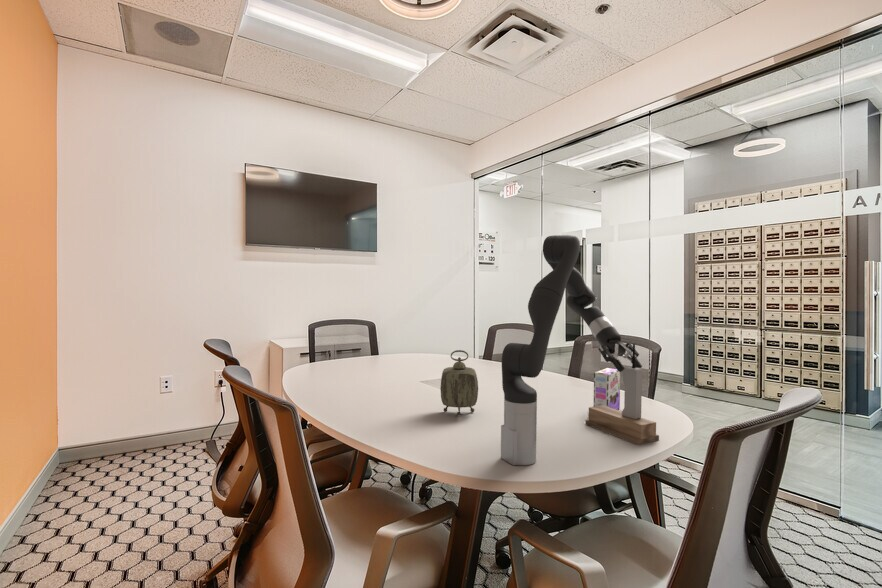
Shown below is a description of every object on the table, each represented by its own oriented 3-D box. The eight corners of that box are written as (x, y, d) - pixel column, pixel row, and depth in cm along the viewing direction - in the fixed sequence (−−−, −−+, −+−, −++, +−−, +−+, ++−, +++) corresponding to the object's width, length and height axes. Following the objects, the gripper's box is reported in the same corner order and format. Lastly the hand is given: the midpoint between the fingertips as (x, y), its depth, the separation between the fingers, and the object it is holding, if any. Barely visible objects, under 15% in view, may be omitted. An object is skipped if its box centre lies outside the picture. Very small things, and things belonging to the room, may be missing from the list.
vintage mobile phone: (626, 414, 144) (627, 342, 144) (641, 417, 140) (642, 343, 140) (621, 416, 142) (622, 342, 141) (635, 419, 138) (636, 344, 137)
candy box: (607, 416, 162) (608, 373, 162) (592, 412, 166) (593, 371, 166) (620, 408, 172) (620, 369, 172) (606, 406, 176) (606, 367, 176)
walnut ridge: (638, 444, 132) (638, 425, 132) (585, 424, 151) (585, 407, 151) (658, 439, 136) (659, 421, 136) (605, 420, 156) (605, 404, 156)
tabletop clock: (476, 411, 166) (477, 348, 166) (478, 418, 157) (478, 352, 157) (440, 410, 167) (441, 348, 167) (440, 417, 158) (440, 351, 158)
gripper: (595, 326, 144) (623, 364, 134) (624, 324, 151) (652, 361, 141) (584, 339, 149) (609, 377, 139) (612, 337, 156) (638, 374, 146)
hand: (631, 369), depth 140 cm, fingers open, 8 cm apart
